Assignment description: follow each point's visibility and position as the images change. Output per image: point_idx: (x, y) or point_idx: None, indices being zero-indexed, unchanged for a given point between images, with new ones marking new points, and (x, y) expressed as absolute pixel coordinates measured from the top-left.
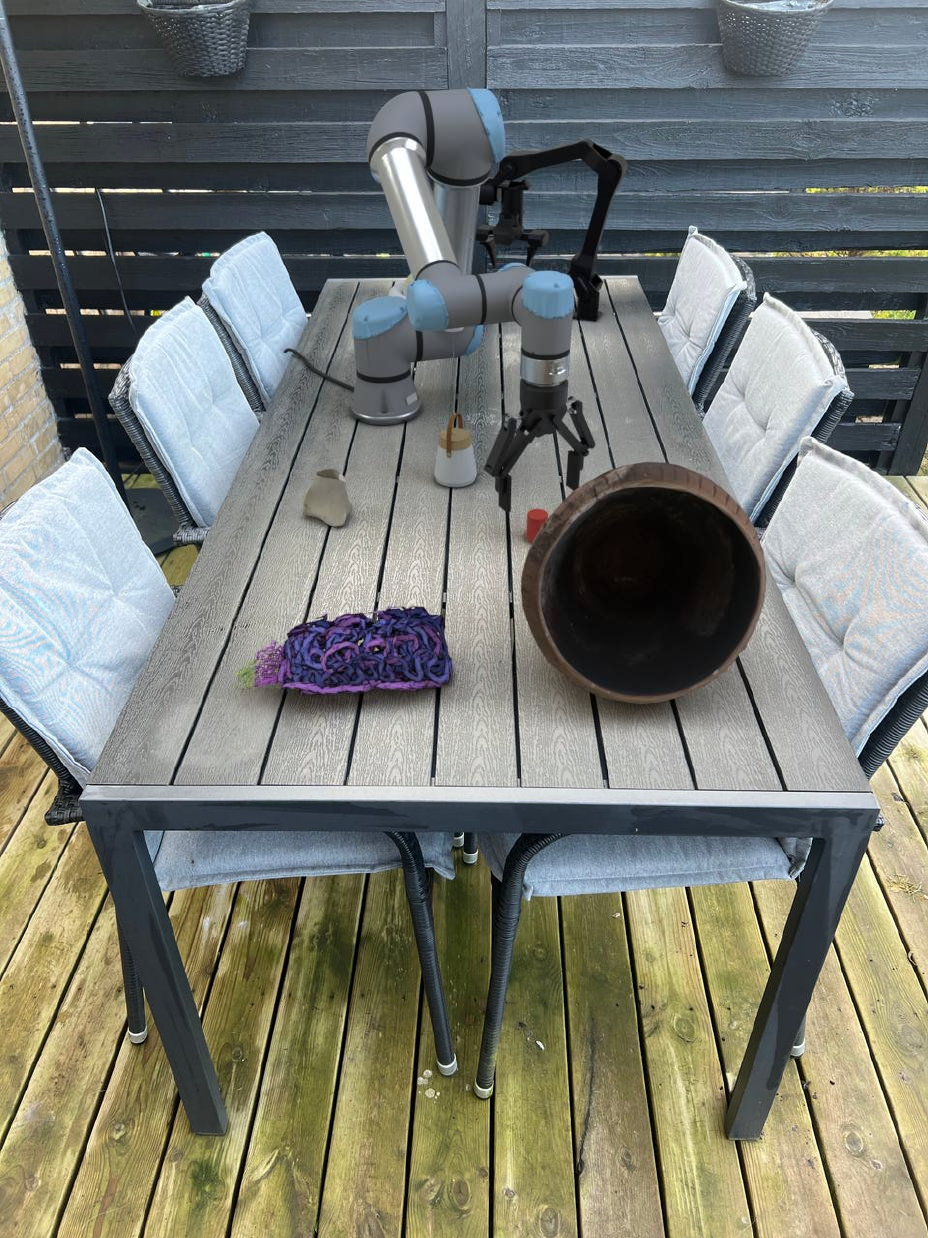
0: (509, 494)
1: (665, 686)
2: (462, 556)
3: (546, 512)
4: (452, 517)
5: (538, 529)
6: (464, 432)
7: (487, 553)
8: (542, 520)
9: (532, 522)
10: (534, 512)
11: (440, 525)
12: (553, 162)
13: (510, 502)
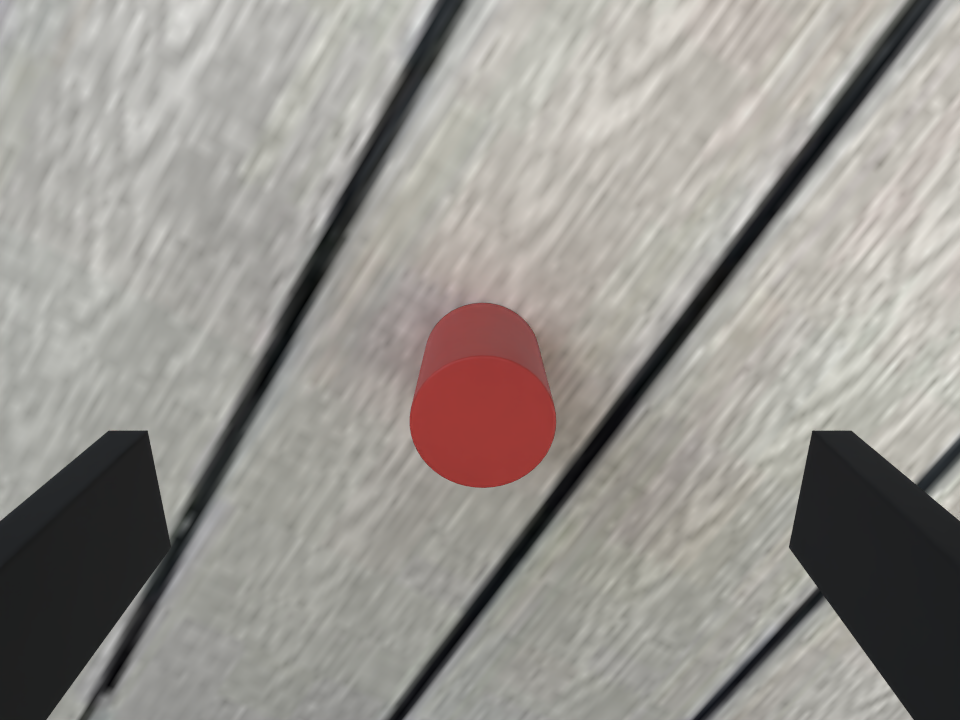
0: (945, 535)
1: None
2: (910, 401)
3: (419, 411)
4: (718, 680)
5: (513, 337)
6: None
7: (791, 362)
8: (491, 352)
9: (545, 381)
10: (491, 449)
11: (805, 654)
12: None
13: (870, 478)
